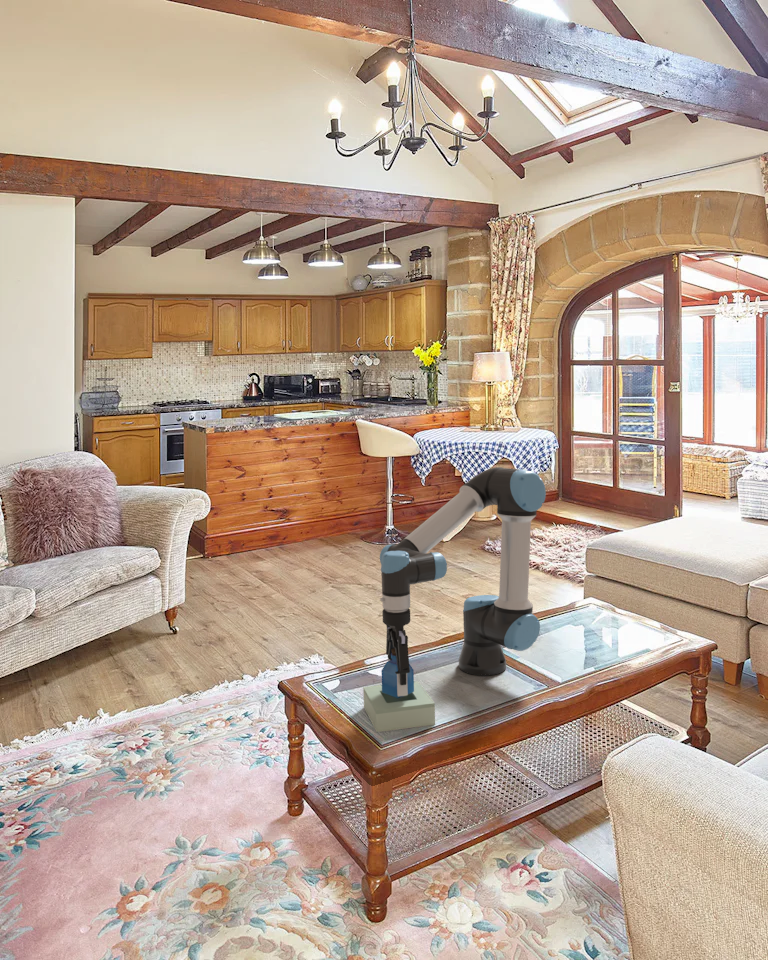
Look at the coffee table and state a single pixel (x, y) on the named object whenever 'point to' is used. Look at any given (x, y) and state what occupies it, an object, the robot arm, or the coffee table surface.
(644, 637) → the coffee table surface
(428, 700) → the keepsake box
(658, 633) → the coffee table surface
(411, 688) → the perfume bottle
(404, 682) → the robot arm
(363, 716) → the coffee table surface
